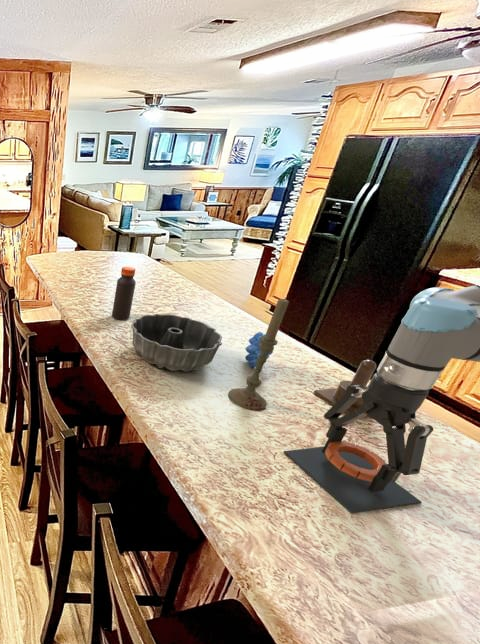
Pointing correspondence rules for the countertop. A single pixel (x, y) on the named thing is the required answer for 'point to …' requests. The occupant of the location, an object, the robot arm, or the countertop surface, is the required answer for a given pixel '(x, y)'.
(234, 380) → the countertop surface
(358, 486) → the mat
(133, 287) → the bottle
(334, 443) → the ring
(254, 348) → the grapes
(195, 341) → the bundt pan
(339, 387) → the stand
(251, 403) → the candlestick holder
